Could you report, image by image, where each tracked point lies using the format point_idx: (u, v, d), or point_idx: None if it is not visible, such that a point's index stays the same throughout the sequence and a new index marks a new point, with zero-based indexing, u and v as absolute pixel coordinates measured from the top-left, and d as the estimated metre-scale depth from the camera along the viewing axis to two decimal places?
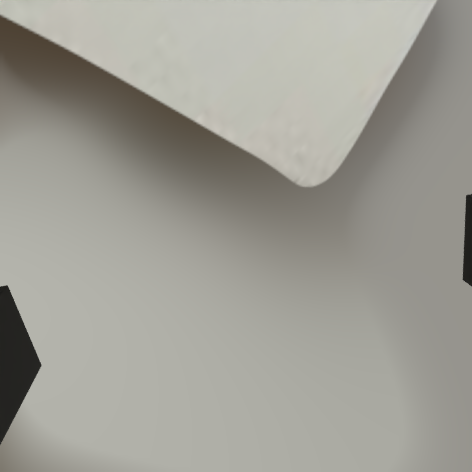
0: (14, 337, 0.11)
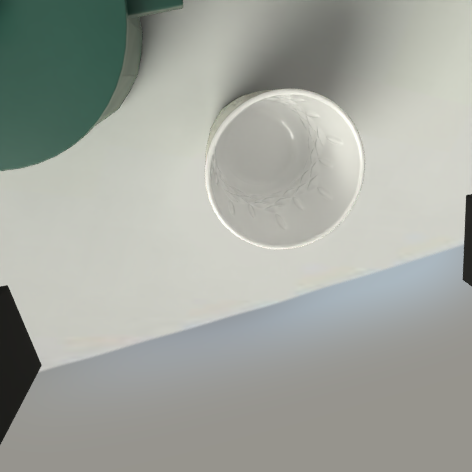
0: (14, 337, 0.11)
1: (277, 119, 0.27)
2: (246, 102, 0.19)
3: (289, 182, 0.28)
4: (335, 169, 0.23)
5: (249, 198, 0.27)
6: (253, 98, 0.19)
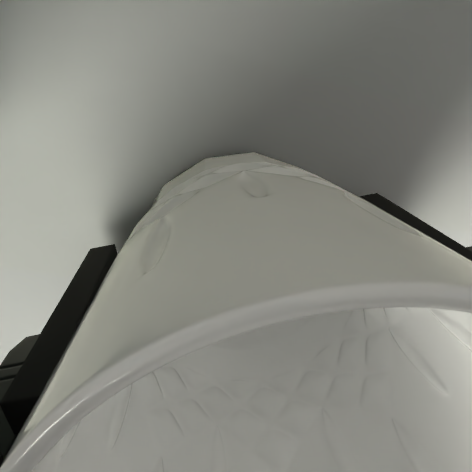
0: None
1: None
2: (139, 357, 0.03)
3: (311, 349, 0.13)
4: (461, 414, 0.08)
5: (219, 402, 0.11)
6: (179, 335, 0.03)
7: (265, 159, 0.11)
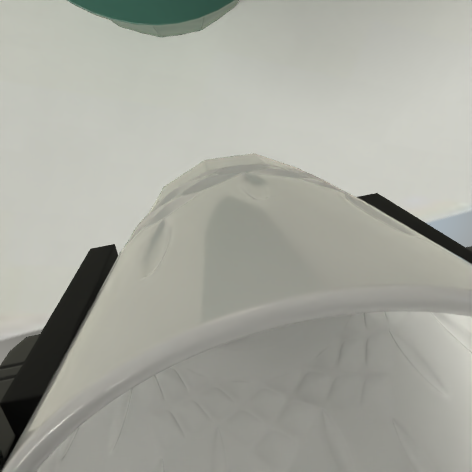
0: None
1: None
2: (140, 361, 0.03)
3: (311, 350, 0.13)
4: (461, 415, 0.08)
5: (219, 403, 0.11)
6: (180, 339, 0.03)
7: (265, 160, 0.11)
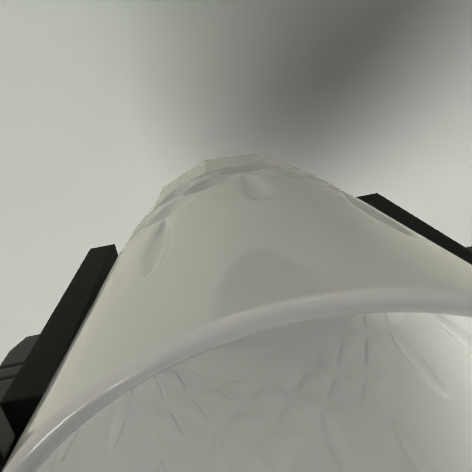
0: None
1: None
2: (140, 362, 0.03)
3: (311, 350, 0.13)
4: (461, 415, 0.08)
5: (219, 403, 0.11)
6: (180, 340, 0.03)
7: (265, 161, 0.11)
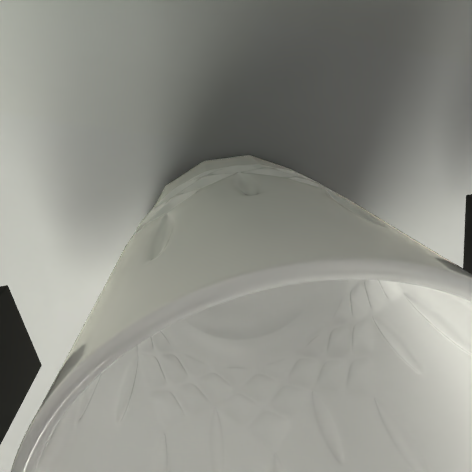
0: (14, 337, 0.11)
1: None
2: (151, 318, 0.04)
3: (302, 339, 0.14)
4: (433, 389, 0.09)
5: (217, 387, 0.12)
6: (183, 300, 0.04)
7: (259, 161, 0.12)
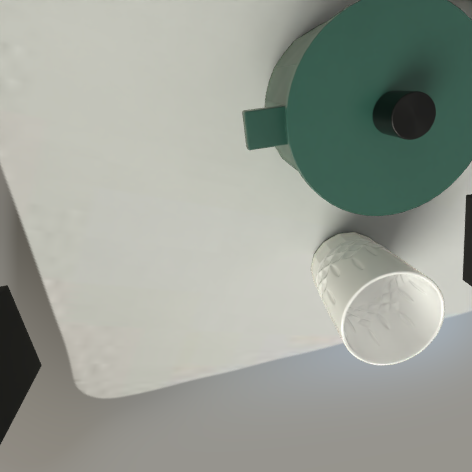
0: (14, 337, 0.11)
1: None
2: (375, 278, 0.29)
3: (371, 298, 0.38)
4: (416, 305, 0.33)
5: None
6: (380, 276, 0.29)
7: (361, 236, 0.37)
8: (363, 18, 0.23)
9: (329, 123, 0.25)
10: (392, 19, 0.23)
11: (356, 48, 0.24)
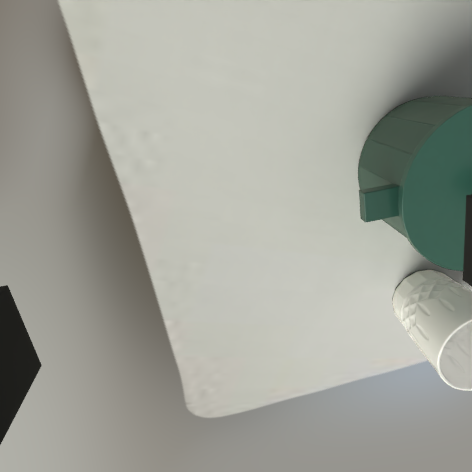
0: (14, 337, 0.11)
1: None
2: (468, 321, 0.34)
3: None
4: None
5: None
6: None
7: (439, 274, 0.42)
8: (468, 120, 0.28)
9: (436, 201, 0.30)
10: None
11: (462, 143, 0.29)
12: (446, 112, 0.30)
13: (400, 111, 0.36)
